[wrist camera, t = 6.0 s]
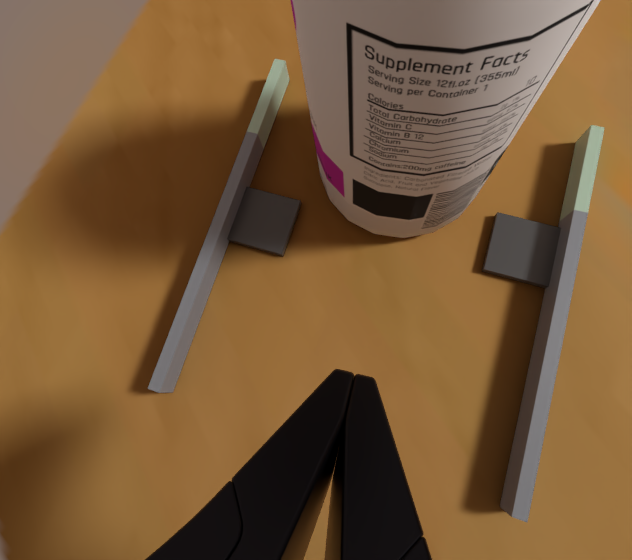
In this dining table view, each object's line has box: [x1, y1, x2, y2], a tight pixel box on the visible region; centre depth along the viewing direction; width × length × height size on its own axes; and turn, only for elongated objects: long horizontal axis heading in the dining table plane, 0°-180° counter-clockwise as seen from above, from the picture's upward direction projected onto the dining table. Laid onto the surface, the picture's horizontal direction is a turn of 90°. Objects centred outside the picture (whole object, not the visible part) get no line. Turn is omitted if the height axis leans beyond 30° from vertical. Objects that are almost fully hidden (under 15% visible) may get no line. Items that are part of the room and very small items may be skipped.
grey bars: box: [148, 59, 604, 522], centre depth 21 cm, size 18×17×2 cm
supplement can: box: [291, 0, 601, 238], centre depth 15 cm, size 8×8×15 cm
